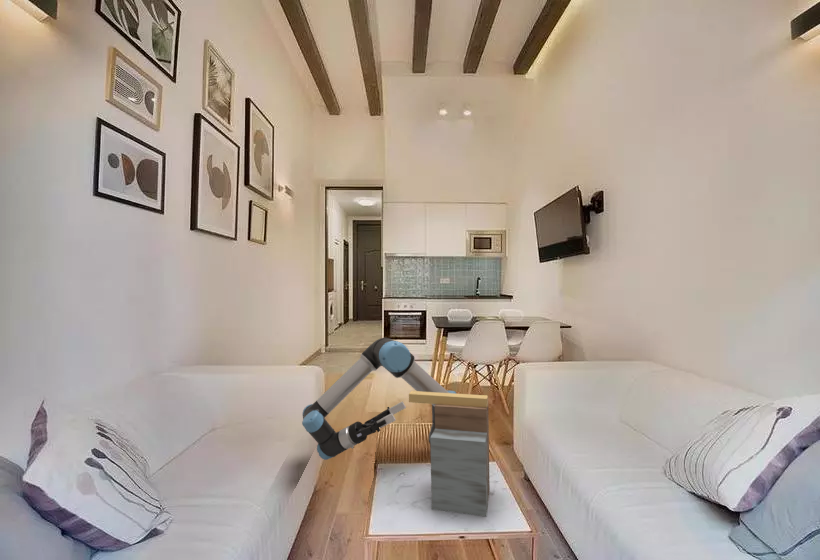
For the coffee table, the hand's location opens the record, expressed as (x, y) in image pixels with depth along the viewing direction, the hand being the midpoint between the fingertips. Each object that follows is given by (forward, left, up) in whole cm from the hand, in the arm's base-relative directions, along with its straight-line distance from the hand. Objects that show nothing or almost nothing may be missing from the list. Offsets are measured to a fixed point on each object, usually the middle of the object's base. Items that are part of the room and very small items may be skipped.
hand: (399, 410), depth 149 cm
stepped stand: (+12, +21, -28) cm, 37 cm away
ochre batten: (+6, +17, +4) cm, 19 cm away
